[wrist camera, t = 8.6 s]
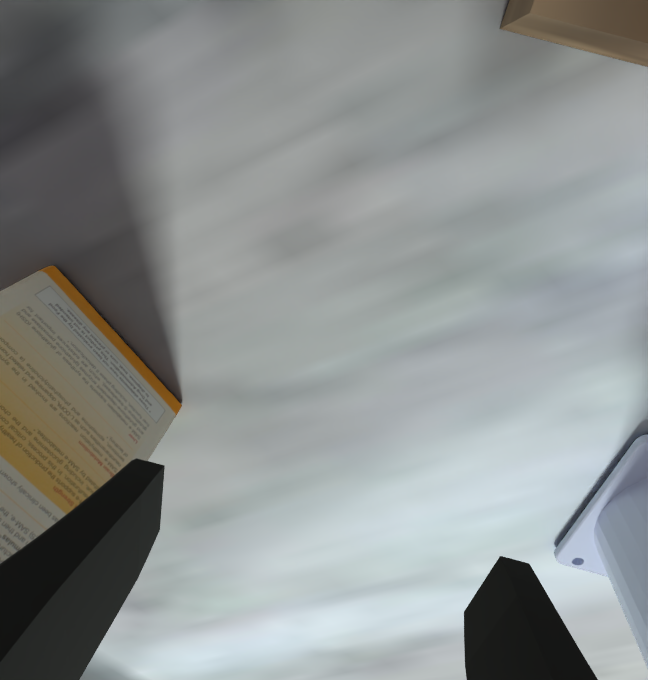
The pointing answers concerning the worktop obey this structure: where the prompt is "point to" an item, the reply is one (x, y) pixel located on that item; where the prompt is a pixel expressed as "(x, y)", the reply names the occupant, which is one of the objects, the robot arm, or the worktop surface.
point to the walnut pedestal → (585, 25)
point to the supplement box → (66, 405)
